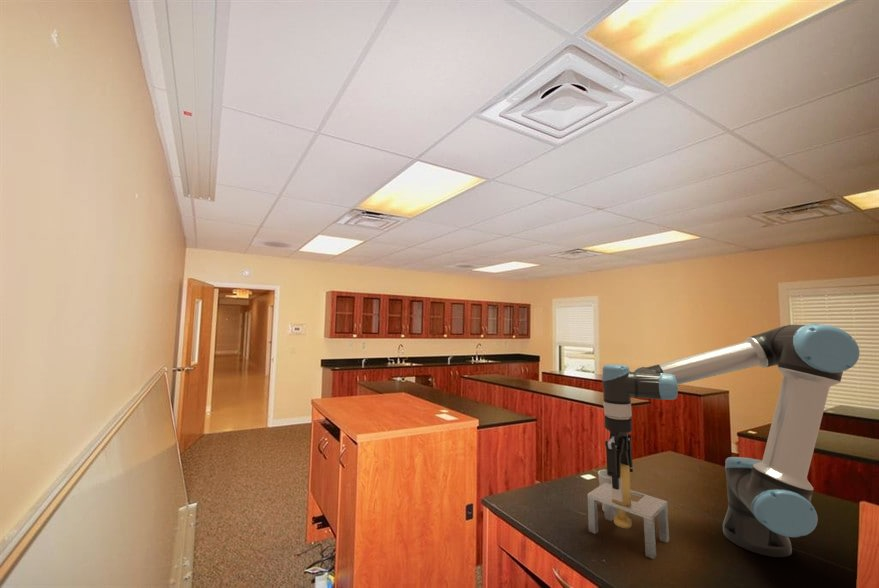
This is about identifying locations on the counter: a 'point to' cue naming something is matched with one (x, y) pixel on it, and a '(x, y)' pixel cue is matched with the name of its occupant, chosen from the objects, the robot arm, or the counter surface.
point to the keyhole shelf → (644, 508)
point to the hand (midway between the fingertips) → (621, 496)
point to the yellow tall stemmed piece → (624, 498)
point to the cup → (602, 479)
